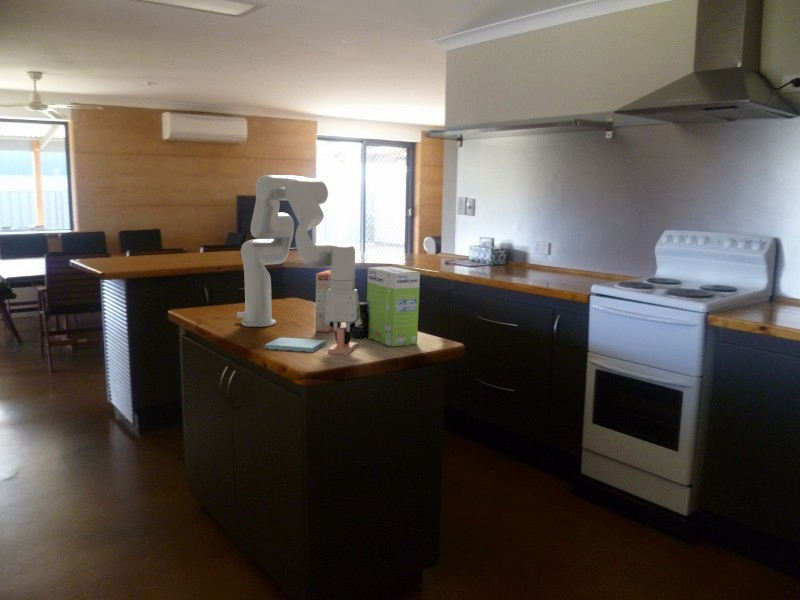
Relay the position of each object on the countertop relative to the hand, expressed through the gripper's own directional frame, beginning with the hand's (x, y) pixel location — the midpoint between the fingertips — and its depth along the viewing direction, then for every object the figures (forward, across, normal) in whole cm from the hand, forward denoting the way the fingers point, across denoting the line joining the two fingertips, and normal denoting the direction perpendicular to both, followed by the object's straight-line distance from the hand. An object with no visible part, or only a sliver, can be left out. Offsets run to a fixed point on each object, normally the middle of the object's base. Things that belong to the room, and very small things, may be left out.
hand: (343, 342), depth 203 cm
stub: (+2, 0, 0) cm, 2 cm away
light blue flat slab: (+2, -16, 0) cm, 16 cm away
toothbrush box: (+3, +11, +17) cm, 21 cm away
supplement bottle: (+3, 0, +19) cm, 19 cm away
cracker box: (+3, -16, +30) cm, 34 cm away
